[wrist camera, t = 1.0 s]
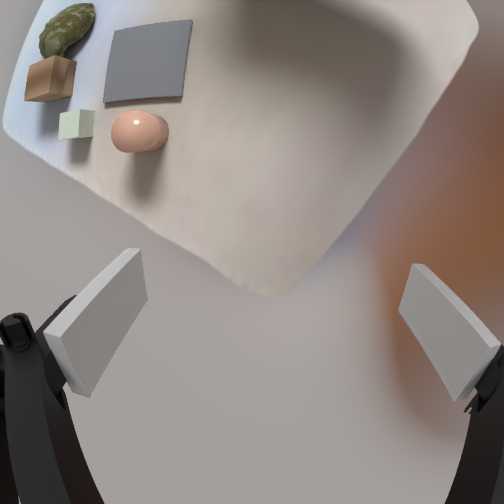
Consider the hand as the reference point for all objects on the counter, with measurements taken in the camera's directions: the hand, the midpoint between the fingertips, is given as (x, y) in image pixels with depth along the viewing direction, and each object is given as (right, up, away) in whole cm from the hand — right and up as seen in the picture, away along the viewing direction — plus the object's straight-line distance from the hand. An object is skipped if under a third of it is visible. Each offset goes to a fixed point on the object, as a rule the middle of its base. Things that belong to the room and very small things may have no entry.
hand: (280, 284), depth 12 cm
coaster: (-16, +28, +17) cm, 36 cm away
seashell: (-31, +41, +13) cm, 53 cm away
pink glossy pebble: (-15, +18, +21) cm, 31 cm away
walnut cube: (-32, +29, +17) cm, 46 cm away
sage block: (-27, +21, +20) cm, 39 cm away
